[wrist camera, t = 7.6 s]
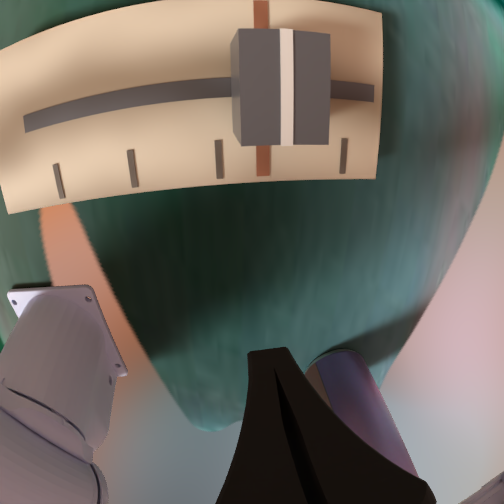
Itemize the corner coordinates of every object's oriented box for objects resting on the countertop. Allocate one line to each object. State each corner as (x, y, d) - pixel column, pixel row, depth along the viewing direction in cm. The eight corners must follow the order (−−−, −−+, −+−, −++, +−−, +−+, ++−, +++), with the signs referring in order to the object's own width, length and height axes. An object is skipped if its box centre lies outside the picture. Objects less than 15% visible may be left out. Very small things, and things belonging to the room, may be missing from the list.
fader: (300, 131, 13) (329, 145, 10) (232, 132, 12) (241, 147, 10) (300, 44, 11) (331, 33, 8) (230, 42, 10) (238, 27, 7)
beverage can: (340, 336, 24) (411, 497, 12) (371, 358, 27) (433, 489, 14) (288, 374, 26) (332, 529, 13) (324, 391, 29) (368, 519, 16)
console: (355, 166, 17) (376, 179, 15) (28, 197, 15) (7, 214, 13) (359, 20, 12) (382, 12, 10) (9, 58, 10) (-16, 58, 8)
